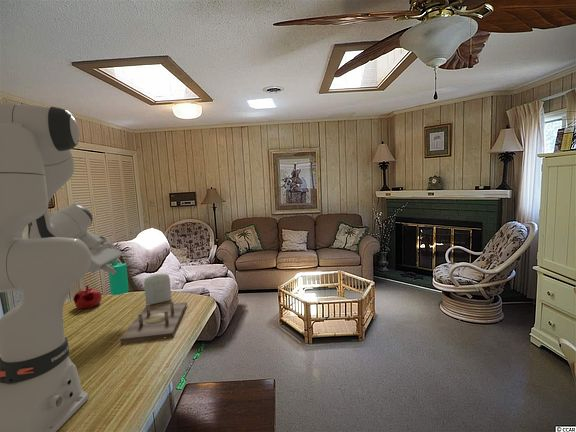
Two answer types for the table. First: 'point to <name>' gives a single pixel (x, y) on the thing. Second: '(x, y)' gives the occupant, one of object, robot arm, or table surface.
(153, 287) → the photo printer
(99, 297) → the pomegranate
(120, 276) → the candle
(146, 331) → the candle stand
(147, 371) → the table surface
